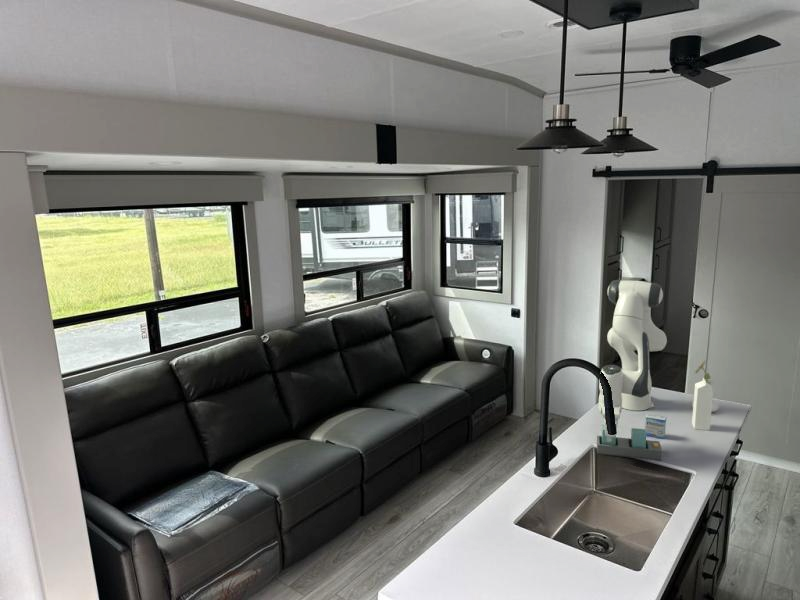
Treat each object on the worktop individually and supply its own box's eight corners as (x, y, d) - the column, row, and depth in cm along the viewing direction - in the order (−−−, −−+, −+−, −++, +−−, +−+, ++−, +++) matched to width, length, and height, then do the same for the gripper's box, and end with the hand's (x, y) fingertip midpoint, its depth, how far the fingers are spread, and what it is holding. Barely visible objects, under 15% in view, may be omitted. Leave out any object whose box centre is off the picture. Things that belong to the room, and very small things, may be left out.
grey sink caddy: (596, 444, 233) (597, 423, 231) (658, 450, 226) (660, 428, 224) (597, 454, 225) (598, 432, 223) (661, 460, 218) (663, 438, 216)
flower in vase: (700, 402, 270) (703, 353, 265) (723, 410, 261) (728, 359, 256) (684, 409, 264) (687, 358, 258) (707, 417, 254) (712, 365, 249)
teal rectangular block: (601, 442, 231) (602, 424, 229) (614, 443, 229) (615, 425, 228) (602, 447, 226) (602, 429, 225) (615, 449, 225) (616, 430, 223)
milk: (694, 429, 243) (697, 381, 239) (691, 423, 249) (695, 376, 244) (710, 430, 242) (713, 382, 237) (707, 424, 247) (710, 377, 242)
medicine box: (644, 436, 239) (645, 417, 237) (645, 431, 243) (646, 413, 241) (664, 439, 235) (665, 420, 234) (665, 435, 239) (666, 416, 237)
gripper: (600, 395, 235) (599, 425, 238) (602, 415, 216) (601, 448, 219) (616, 396, 233) (615, 427, 236) (620, 416, 214) (618, 449, 217)
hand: (608, 437), depth 227 cm, fingers closed on teal rectangular block, 5 cm apart
